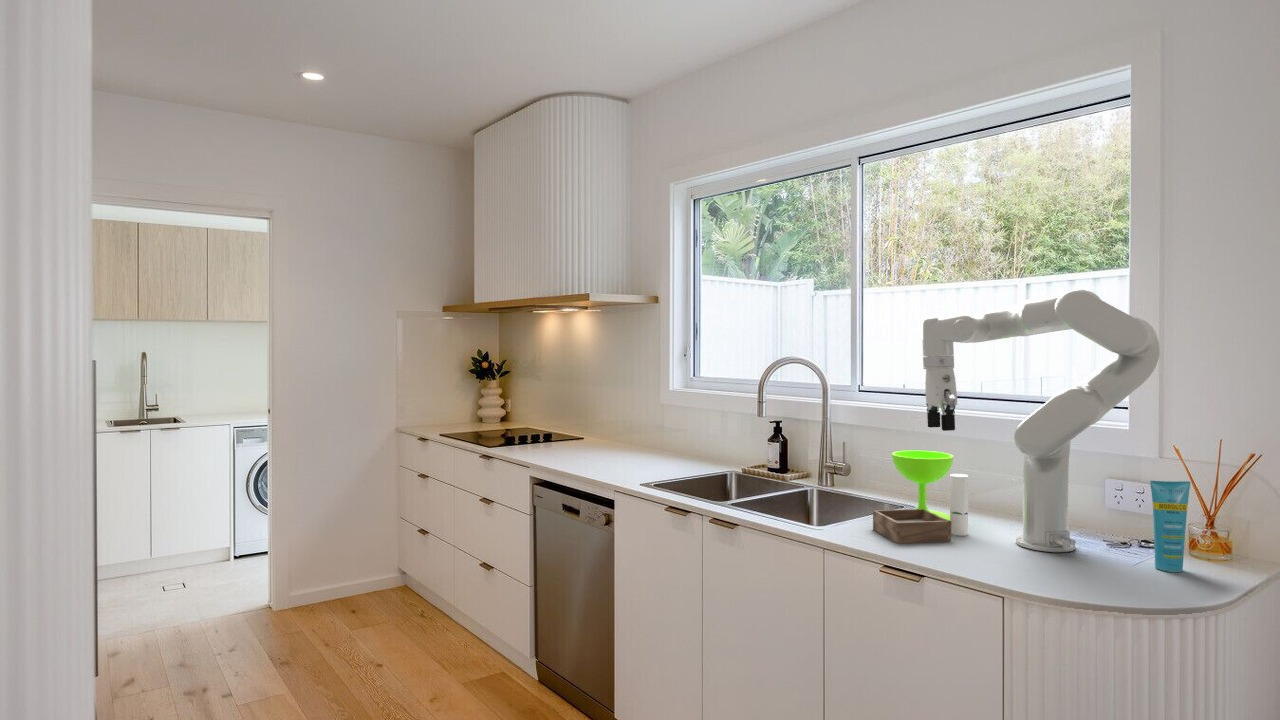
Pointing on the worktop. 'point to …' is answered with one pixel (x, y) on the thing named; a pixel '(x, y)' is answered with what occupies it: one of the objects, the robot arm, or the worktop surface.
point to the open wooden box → (911, 526)
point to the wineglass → (923, 470)
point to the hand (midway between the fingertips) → (941, 428)
